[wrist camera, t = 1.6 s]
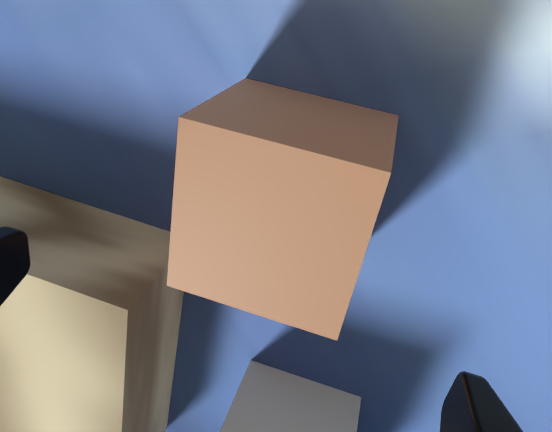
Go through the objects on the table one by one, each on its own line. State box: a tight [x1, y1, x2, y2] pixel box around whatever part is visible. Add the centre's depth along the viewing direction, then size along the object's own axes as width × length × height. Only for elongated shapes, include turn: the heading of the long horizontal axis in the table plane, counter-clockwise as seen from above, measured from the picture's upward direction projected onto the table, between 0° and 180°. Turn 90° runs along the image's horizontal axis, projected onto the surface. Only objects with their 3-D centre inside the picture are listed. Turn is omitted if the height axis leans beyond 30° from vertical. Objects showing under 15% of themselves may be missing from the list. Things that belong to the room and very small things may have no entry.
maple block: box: [0, 176, 184, 432], centre depth 20 cm, size 12×12×5 cm
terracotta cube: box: [167, 78, 399, 341], centre depth 14 cm, size 5×5×5 cm
